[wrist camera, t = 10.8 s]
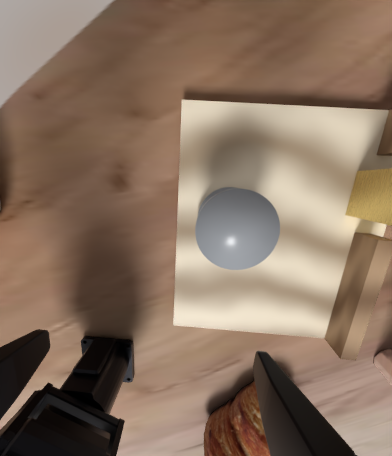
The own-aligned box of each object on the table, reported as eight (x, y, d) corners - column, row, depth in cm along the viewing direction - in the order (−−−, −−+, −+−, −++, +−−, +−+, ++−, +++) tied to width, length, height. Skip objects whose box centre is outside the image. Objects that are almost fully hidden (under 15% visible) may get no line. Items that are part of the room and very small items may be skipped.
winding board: (341, 332, 22) (368, 361, 18) (174, 317, 22) (169, 343, 19) (407, 117, 16) (465, 98, 13) (183, 105, 17) (177, 84, 13)
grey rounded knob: (254, 249, 19) (272, 273, 14) (195, 245, 19) (192, 266, 14) (263, 189, 17) (287, 191, 12) (199, 185, 17) (198, 185, 12)
